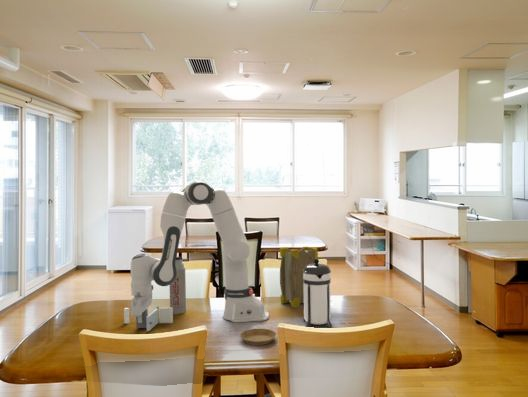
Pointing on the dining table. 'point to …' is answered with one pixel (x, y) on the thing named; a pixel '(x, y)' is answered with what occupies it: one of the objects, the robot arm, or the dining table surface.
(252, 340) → the plant saucer
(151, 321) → the door
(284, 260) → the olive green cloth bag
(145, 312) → the block
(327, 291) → the coffee press
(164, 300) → the dining table surface
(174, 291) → the thermos bottle
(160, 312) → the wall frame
